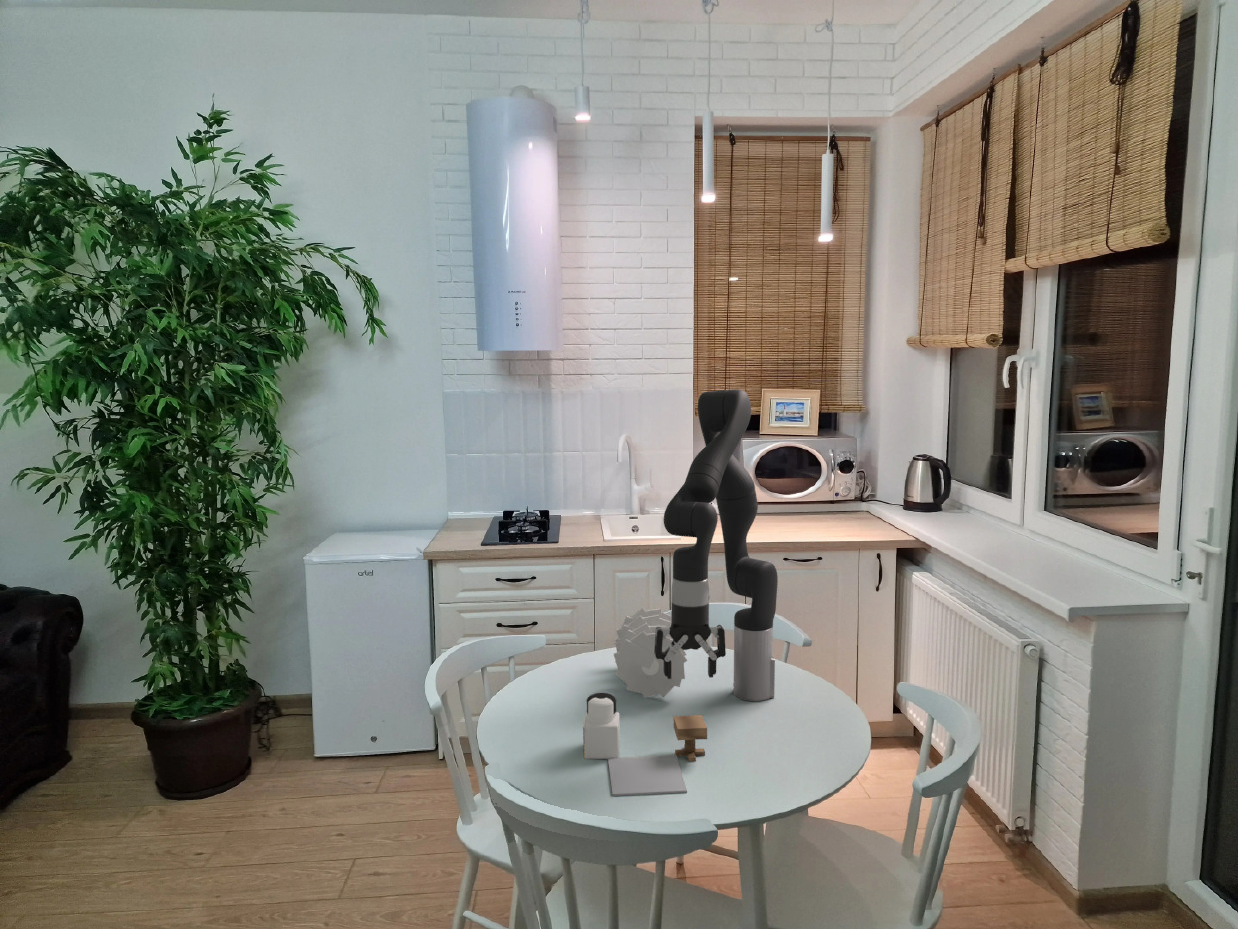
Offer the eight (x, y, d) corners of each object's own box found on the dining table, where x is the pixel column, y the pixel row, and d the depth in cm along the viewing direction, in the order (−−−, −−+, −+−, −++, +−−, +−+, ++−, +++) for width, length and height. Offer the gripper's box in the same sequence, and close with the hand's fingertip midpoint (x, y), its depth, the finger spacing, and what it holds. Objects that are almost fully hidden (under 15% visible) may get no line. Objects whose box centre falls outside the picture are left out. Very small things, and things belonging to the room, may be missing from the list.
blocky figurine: (586, 743, 177) (585, 689, 176) (619, 743, 177) (619, 689, 176) (583, 759, 170) (582, 703, 169) (618, 759, 170) (618, 703, 168)
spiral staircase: (664, 680, 222) (669, 716, 197) (604, 652, 221) (601, 685, 196) (694, 619, 220) (702, 647, 195) (633, 591, 220) (634, 616, 195)
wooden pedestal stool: (701, 747, 175) (702, 715, 174) (707, 760, 169) (707, 727, 168) (673, 748, 175) (673, 716, 174) (677, 762, 169) (677, 729, 168)
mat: (676, 757, 171) (676, 755, 171) (687, 792, 157) (687, 790, 157) (608, 760, 170) (607, 758, 170) (612, 796, 156) (612, 794, 156)
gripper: (721, 593, 172) (720, 669, 174) (652, 595, 171) (652, 671, 173) (728, 604, 165) (727, 683, 167) (657, 606, 164) (657, 685, 166)
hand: (689, 677), depth 170 cm, fingers open, 8 cm apart
